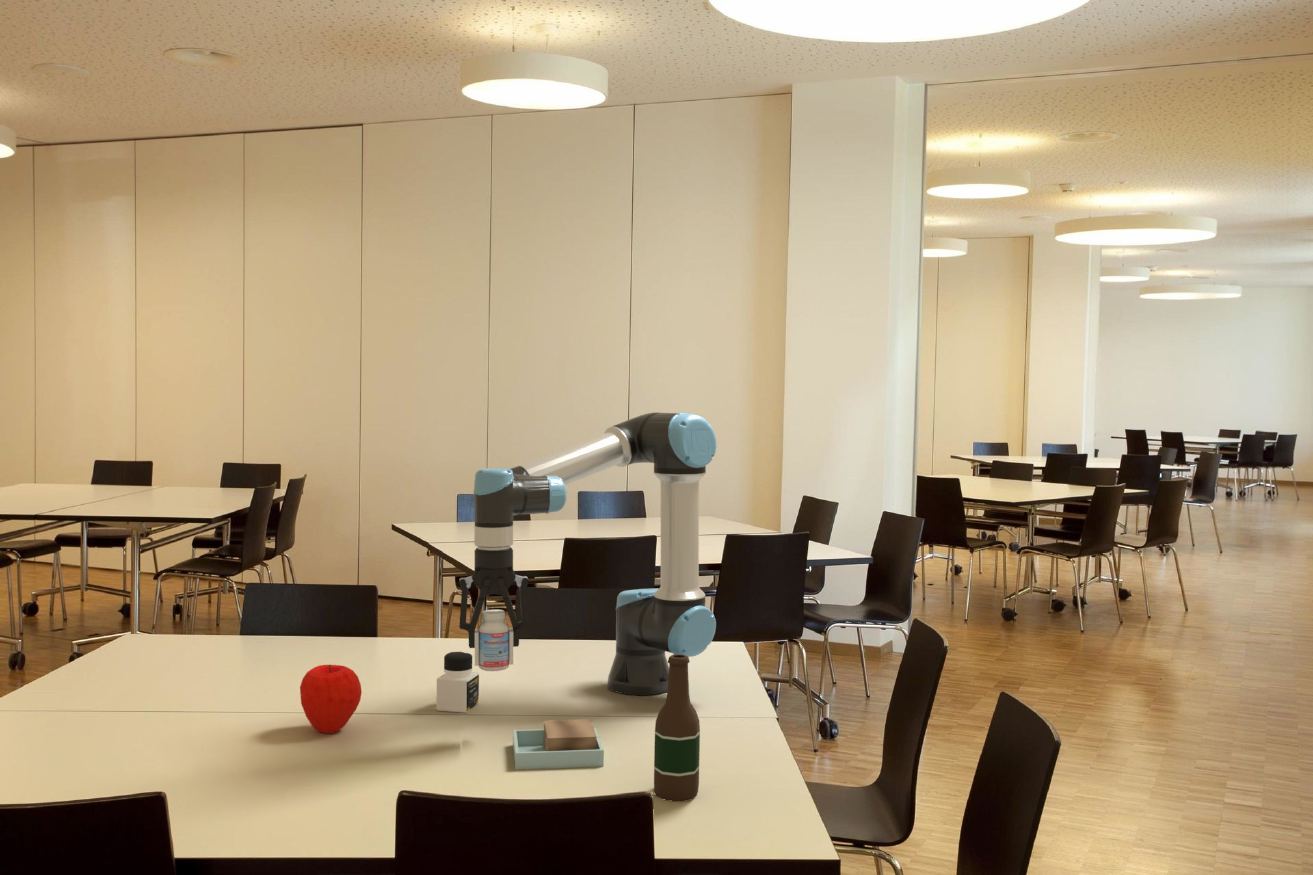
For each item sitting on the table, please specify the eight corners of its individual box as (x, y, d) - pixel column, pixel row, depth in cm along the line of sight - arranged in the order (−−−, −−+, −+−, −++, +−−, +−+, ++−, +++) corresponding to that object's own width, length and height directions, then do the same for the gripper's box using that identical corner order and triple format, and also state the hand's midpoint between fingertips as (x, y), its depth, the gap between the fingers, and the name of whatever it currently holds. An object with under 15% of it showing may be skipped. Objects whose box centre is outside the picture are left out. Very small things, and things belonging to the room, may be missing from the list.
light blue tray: (595, 745, 216) (595, 727, 216) (603, 769, 202) (603, 750, 202) (512, 747, 213) (513, 729, 213) (515, 772, 199) (515, 753, 199)
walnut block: (590, 744, 214) (590, 719, 214) (596, 763, 203) (596, 736, 203) (543, 746, 213) (543, 720, 212) (547, 765, 202) (547, 738, 202)
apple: (372, 725, 226) (372, 660, 225) (337, 742, 215) (338, 674, 214) (323, 719, 230) (323, 655, 229) (287, 735, 218) (287, 668, 218)
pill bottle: (484, 673, 214) (484, 615, 213) (474, 666, 219) (474, 610, 219) (513, 669, 217) (513, 613, 216) (503, 662, 222) (503, 607, 222)
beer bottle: (651, 786, 193) (654, 650, 192) (695, 785, 194) (698, 650, 193) (655, 802, 186) (658, 661, 185) (701, 802, 186) (704, 661, 185)
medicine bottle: (467, 713, 236) (467, 657, 235) (435, 710, 237) (436, 655, 237) (479, 704, 243) (479, 650, 242) (448, 702, 244) (449, 648, 244)
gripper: (541, 543, 222) (541, 657, 223) (445, 545, 219) (445, 660, 220) (543, 548, 215) (543, 666, 216) (444, 550, 212) (444, 669, 213)
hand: (494, 663), depth 218 cm, fingers closed on pill bottle, 6 cm apart
